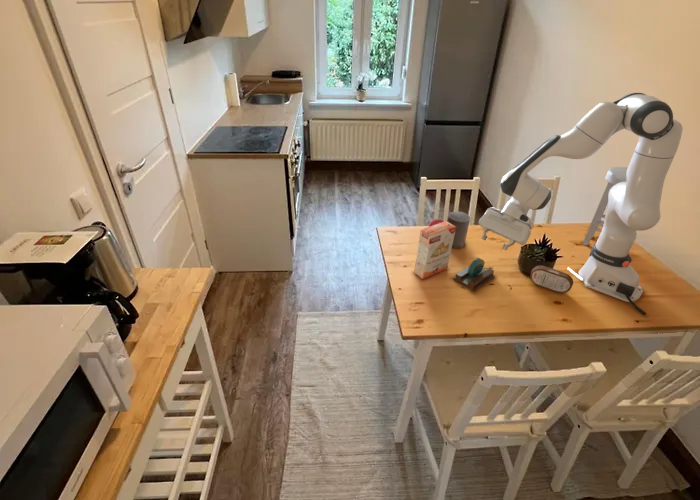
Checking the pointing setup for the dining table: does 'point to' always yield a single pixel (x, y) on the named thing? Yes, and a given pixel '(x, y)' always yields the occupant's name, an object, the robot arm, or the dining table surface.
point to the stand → (474, 282)
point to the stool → (605, 200)
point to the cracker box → (434, 249)
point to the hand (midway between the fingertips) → (493, 244)
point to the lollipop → (435, 222)
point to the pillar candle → (459, 227)
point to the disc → (476, 267)
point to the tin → (551, 279)
